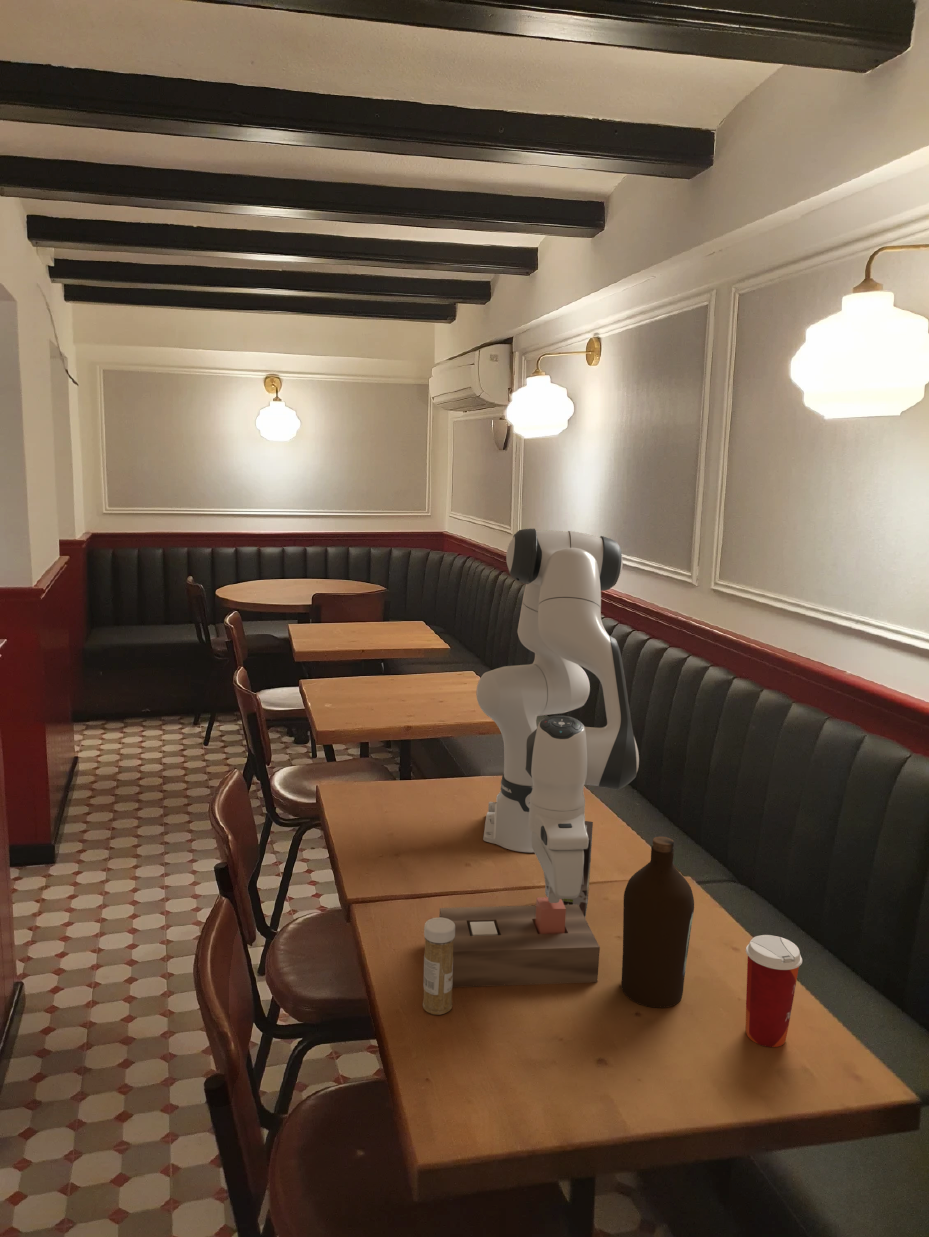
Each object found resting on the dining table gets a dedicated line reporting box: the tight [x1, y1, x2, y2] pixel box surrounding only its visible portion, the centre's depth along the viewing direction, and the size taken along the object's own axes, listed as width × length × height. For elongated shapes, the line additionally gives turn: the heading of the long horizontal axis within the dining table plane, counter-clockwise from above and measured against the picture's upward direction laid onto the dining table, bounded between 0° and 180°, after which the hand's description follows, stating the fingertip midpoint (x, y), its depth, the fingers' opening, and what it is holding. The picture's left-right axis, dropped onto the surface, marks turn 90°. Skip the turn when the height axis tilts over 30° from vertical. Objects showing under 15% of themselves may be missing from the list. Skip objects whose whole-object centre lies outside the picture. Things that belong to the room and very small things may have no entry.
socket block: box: [439, 904, 601, 988], centre depth 149 cm, size 14×24×6 cm, turn 97°
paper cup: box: [745, 934, 803, 1048], centre depth 131 cm, size 8×8×14 cm
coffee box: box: [562, 820, 594, 918], centre depth 166 cm, size 9×6×16 cm
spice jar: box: [422, 917, 455, 1016], centre depth 135 cm, size 5×5×14 cm
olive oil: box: [621, 836, 695, 1009], centre depth 140 cm, size 11×11×25 cm
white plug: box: [469, 921, 498, 936], centre depth 148 cm, size 4×4×6 cm
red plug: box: [535, 896, 566, 934], centre depth 149 cm, size 4×4×6 cm
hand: (552, 898), depth 148 cm, fingers closed
